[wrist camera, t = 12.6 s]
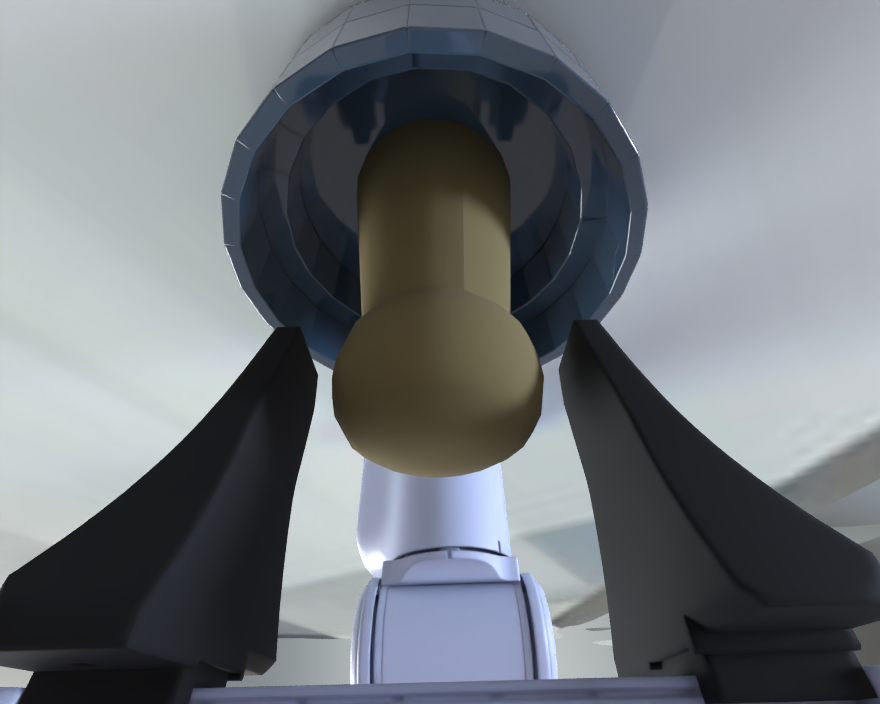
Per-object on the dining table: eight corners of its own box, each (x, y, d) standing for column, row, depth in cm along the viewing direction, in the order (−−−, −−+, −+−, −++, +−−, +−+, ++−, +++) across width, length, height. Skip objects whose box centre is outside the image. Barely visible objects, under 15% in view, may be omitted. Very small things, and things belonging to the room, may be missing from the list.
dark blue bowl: (429, 348, 24) (429, 425, 21) (200, 187, 17) (145, 265, 14) (657, 201, 18) (710, 277, 15) (446, -157, 11) (454, -168, 7)
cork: (447, 284, 20) (458, 521, 13) (328, 214, 17) (257, 466, 10) (544, 185, 17) (635, 433, 9) (414, 78, 14) (401, 313, 7)
